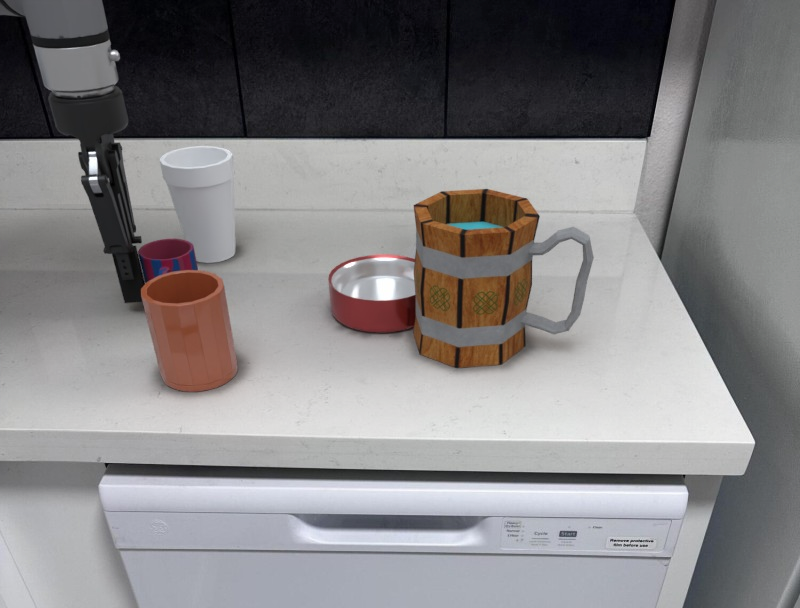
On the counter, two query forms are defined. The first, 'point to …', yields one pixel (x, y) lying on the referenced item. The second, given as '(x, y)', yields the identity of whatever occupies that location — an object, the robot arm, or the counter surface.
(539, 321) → the mug
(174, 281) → the tumbler
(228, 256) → the foam cup
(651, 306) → the counter surface
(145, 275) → the cup
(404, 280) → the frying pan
